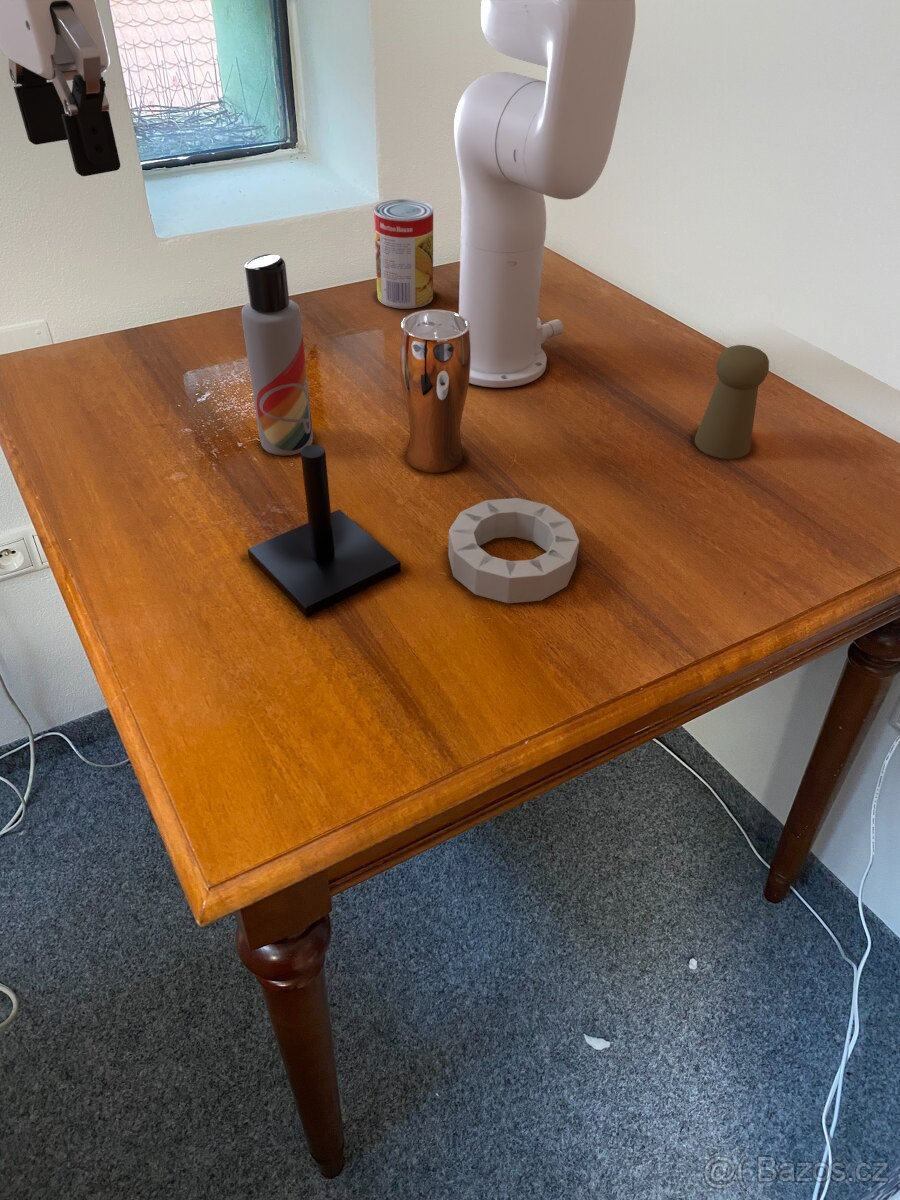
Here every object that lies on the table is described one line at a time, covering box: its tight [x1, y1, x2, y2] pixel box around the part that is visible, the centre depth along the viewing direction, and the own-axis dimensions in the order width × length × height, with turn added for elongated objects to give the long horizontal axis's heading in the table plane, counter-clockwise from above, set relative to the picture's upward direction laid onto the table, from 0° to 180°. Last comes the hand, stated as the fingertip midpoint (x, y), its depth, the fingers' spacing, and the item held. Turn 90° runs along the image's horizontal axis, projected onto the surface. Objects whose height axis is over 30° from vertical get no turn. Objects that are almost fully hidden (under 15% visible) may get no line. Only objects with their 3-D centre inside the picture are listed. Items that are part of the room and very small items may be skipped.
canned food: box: [373, 198, 434, 310], centre depth 120 cm, size 8×8×12 cm
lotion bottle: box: [241, 253, 314, 457], centre depth 88 cm, size 6×6×20 cm
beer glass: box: [399, 309, 471, 474], centre depth 88 cm, size 7×7×15 cm
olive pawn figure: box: [694, 344, 770, 460], centre depth 93 cm, size 6×6×11 cm
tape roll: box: [447, 497, 580, 604], centre depth 80 cm, size 11×11×3 cm
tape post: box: [247, 444, 402, 618], centre depth 76 cm, size 10×10×12 cm
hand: (74, 156), depth 67 cm, fingers open, 9 cm apart
